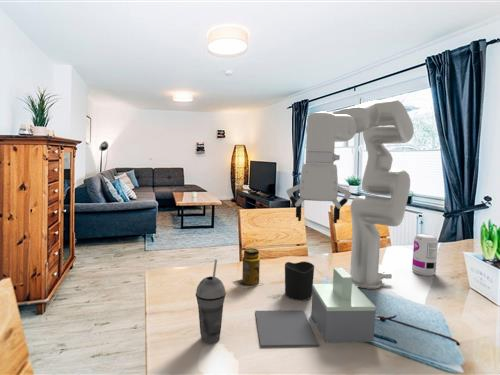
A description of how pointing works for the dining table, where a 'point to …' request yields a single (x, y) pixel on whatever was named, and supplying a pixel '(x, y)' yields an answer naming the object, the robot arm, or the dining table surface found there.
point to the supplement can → (425, 254)
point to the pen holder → (299, 280)
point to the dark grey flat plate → (284, 329)
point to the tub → (343, 323)
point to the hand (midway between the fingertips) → (317, 221)
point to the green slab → (342, 294)
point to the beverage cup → (210, 307)
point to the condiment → (250, 269)
